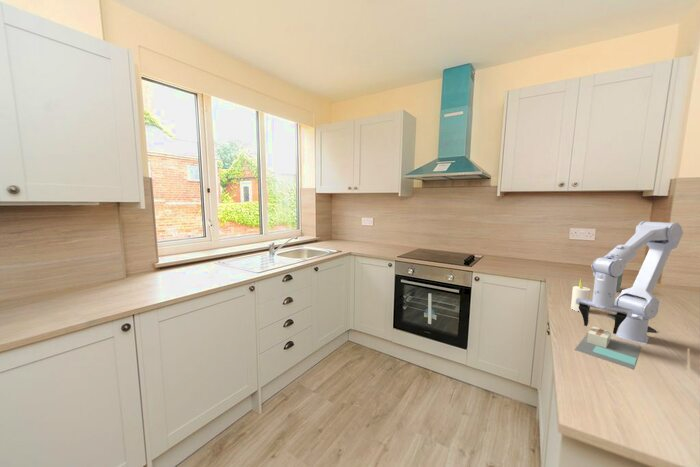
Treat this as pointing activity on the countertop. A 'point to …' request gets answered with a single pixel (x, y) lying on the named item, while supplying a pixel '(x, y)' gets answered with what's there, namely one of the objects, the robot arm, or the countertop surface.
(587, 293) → the candle
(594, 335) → the card box
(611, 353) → the mat
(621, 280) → the green pot
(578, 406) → the countertop surface
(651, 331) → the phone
